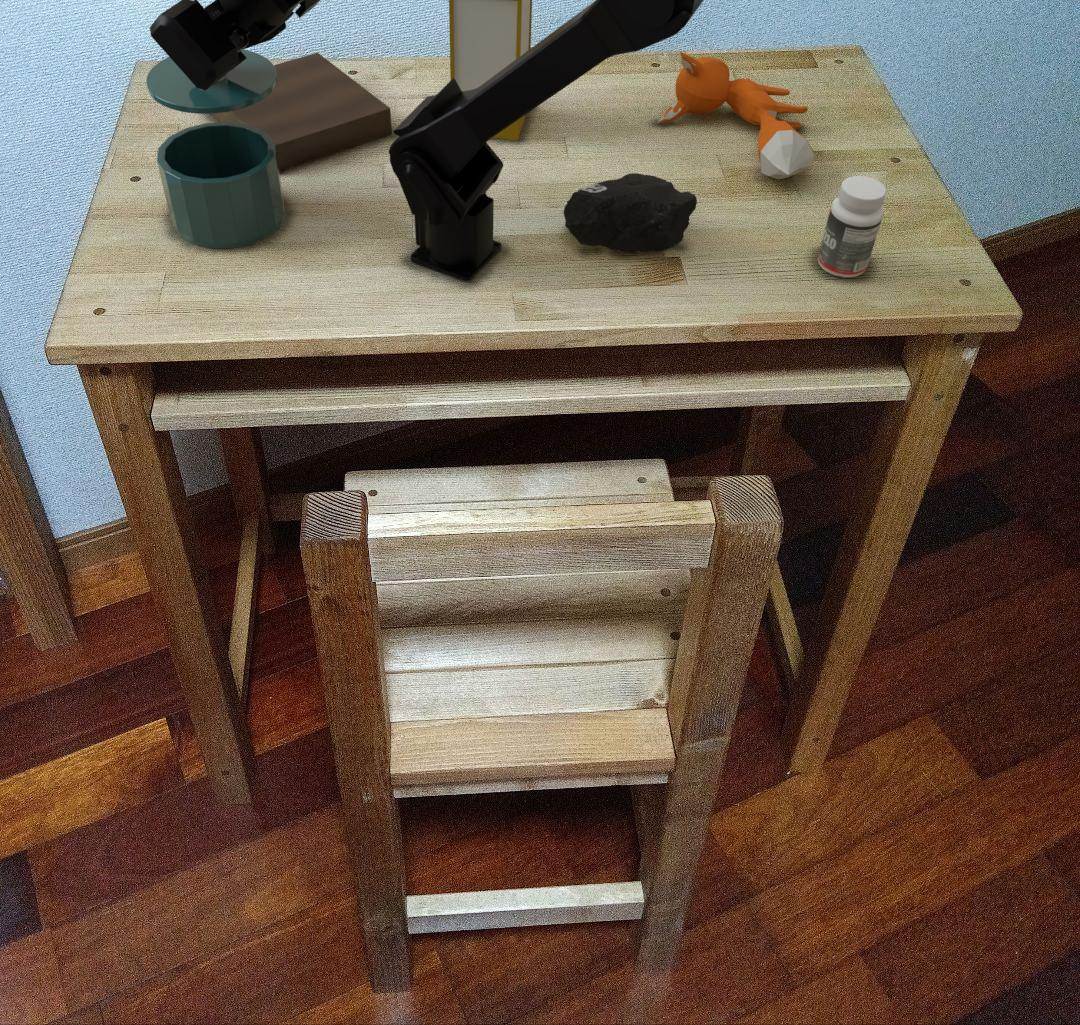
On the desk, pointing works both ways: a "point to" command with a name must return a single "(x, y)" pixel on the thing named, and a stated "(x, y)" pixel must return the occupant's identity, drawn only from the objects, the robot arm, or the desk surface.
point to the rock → (630, 214)
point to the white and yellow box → (488, 43)
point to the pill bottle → (852, 227)
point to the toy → (743, 112)
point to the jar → (222, 184)
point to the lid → (213, 86)
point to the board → (314, 112)
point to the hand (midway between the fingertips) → (197, 62)
